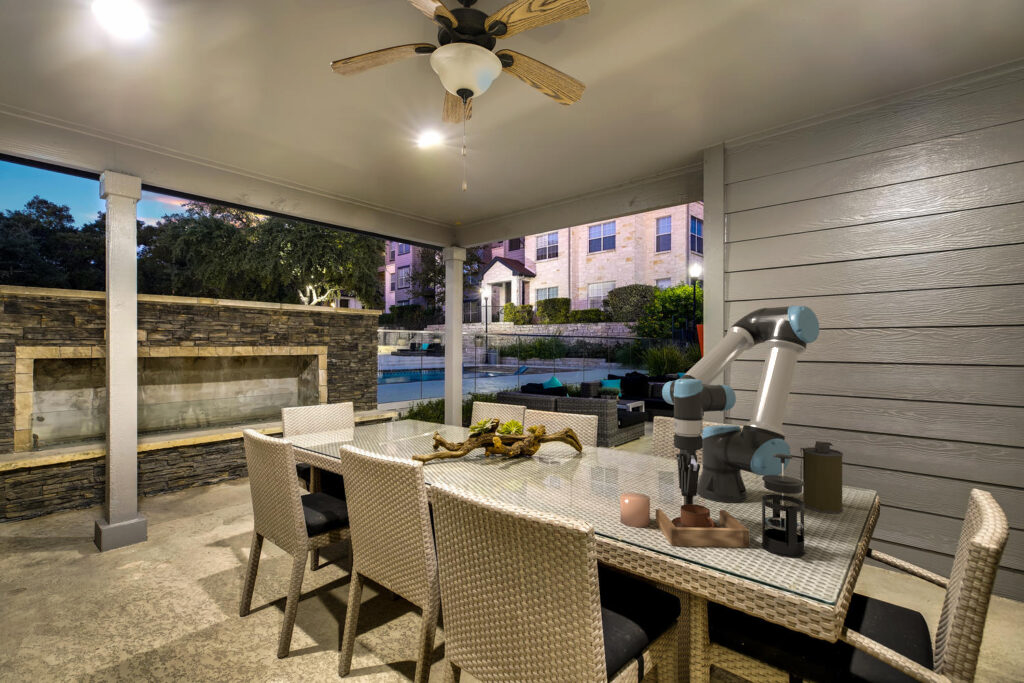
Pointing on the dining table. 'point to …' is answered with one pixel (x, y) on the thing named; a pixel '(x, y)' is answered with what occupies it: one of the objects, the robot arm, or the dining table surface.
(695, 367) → the robot arm
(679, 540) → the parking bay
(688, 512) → the cup and saucer
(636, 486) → the dining table surface
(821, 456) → the canister
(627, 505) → the peach rounded capsule
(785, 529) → the french press
